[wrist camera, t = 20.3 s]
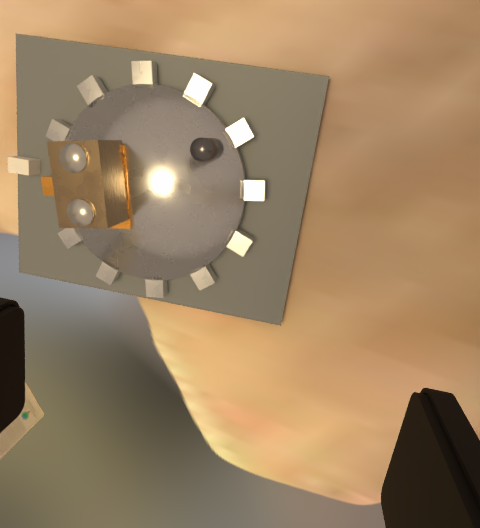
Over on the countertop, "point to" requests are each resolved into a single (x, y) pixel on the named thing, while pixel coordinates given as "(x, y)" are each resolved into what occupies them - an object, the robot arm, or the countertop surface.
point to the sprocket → (165, 179)
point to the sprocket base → (229, 111)
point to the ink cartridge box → (21, 423)
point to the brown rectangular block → (88, 183)
